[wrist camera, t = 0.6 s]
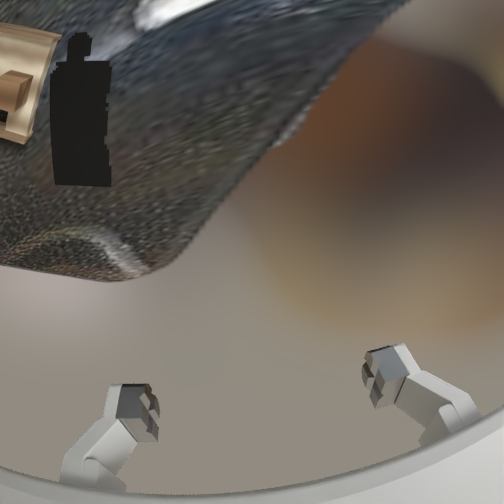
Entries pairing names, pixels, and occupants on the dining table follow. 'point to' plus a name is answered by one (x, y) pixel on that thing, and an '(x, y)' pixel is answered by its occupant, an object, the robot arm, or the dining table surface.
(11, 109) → the block
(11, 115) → the box
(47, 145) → the dining table surface
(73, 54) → the black flat board
